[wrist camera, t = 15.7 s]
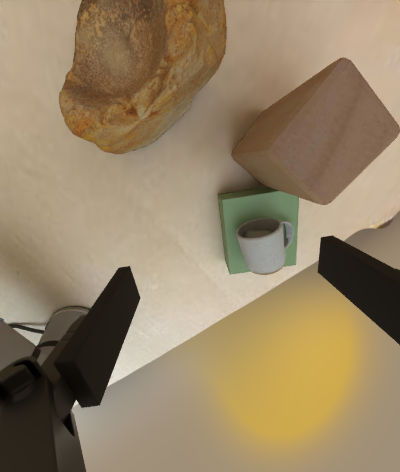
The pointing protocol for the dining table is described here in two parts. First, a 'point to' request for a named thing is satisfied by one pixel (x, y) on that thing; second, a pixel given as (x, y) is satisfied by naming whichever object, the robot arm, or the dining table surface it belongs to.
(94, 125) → the rough brown rock
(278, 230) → the ceramic mug
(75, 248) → the dining table surface
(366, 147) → the wooden block
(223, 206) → the green block
